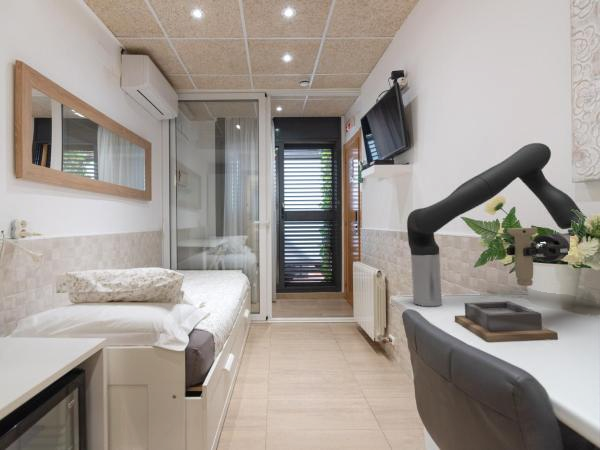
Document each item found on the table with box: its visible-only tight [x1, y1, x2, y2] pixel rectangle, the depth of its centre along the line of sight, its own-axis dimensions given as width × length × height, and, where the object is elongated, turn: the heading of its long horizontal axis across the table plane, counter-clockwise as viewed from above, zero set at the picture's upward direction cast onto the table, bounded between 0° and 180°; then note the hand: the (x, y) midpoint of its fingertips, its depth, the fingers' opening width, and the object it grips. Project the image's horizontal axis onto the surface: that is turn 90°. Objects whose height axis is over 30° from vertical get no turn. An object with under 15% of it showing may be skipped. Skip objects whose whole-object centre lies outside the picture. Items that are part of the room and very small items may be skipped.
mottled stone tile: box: [484, 308, 516, 313], centre depth 80 cm, size 8×8×1 cm
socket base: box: [454, 300, 559, 343], centre depth 80 cm, size 16×16×6 cm
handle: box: [506, 227, 538, 287], centre depth 82 cm, size 5×6×15 cm
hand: (516, 251), depth 80 cm, fingers closed on handle, 3 cm apart
